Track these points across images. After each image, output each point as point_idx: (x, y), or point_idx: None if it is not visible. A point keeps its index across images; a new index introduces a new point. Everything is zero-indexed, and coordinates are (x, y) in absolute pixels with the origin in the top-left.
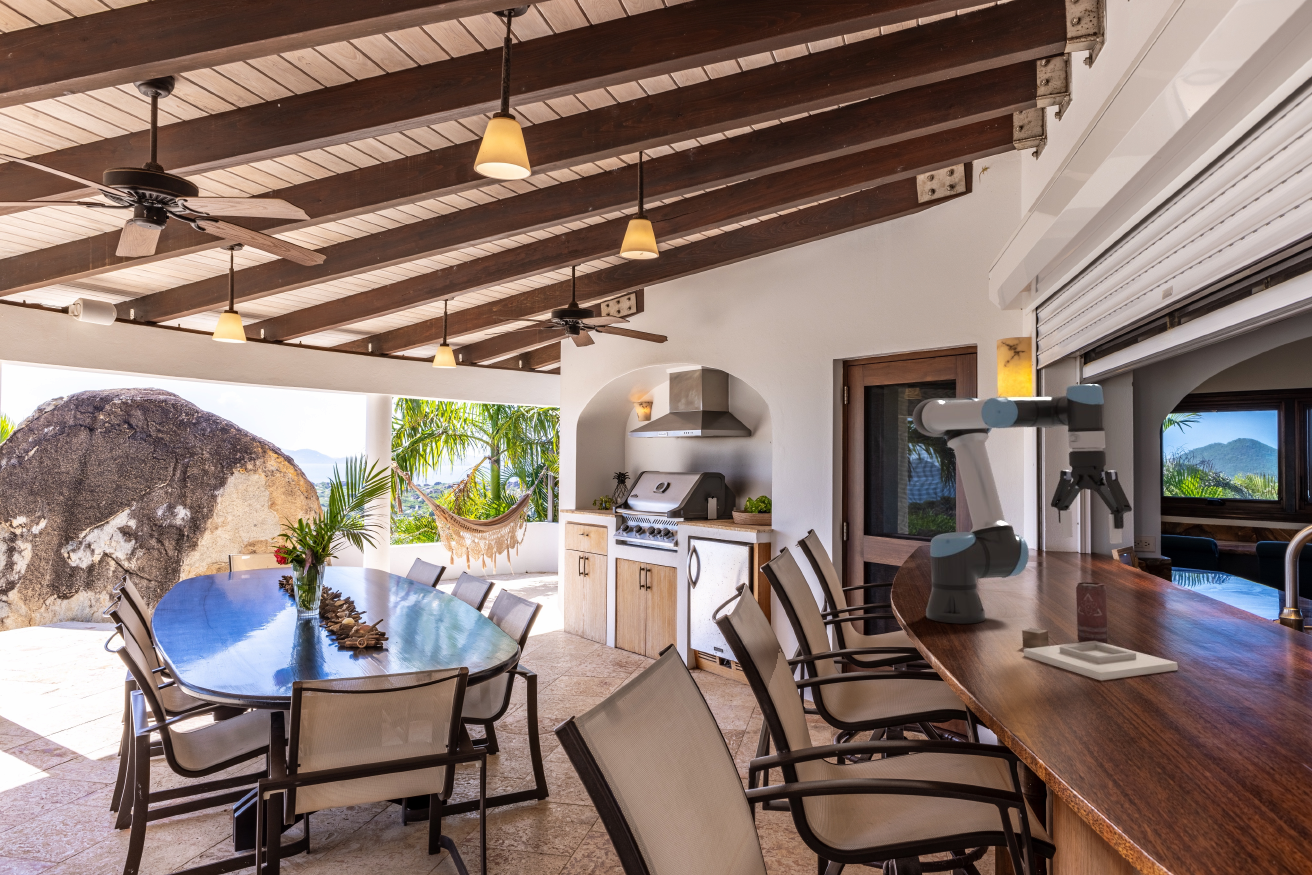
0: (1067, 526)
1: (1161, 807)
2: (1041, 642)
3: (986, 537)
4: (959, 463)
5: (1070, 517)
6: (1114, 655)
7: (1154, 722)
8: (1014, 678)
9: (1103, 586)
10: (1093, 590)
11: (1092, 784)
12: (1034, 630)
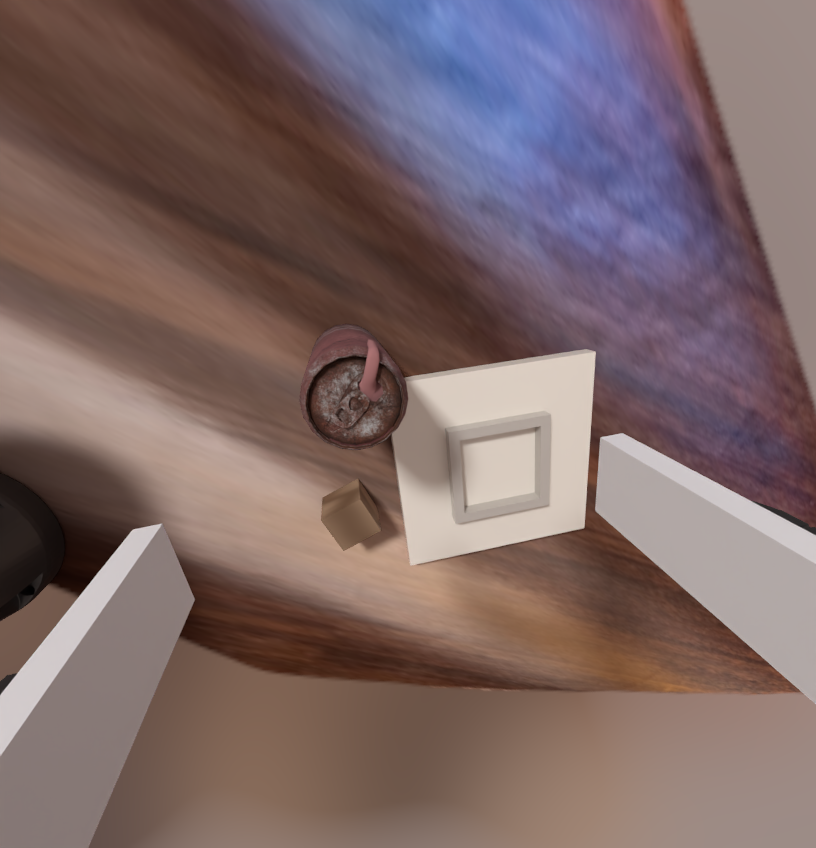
0: (134, 645)
1: None
2: (375, 512)
3: None
4: None
5: (48, 719)
6: (547, 466)
7: None
8: (518, 624)
9: (396, 377)
10: (400, 422)
11: (764, 680)
12: (351, 526)
